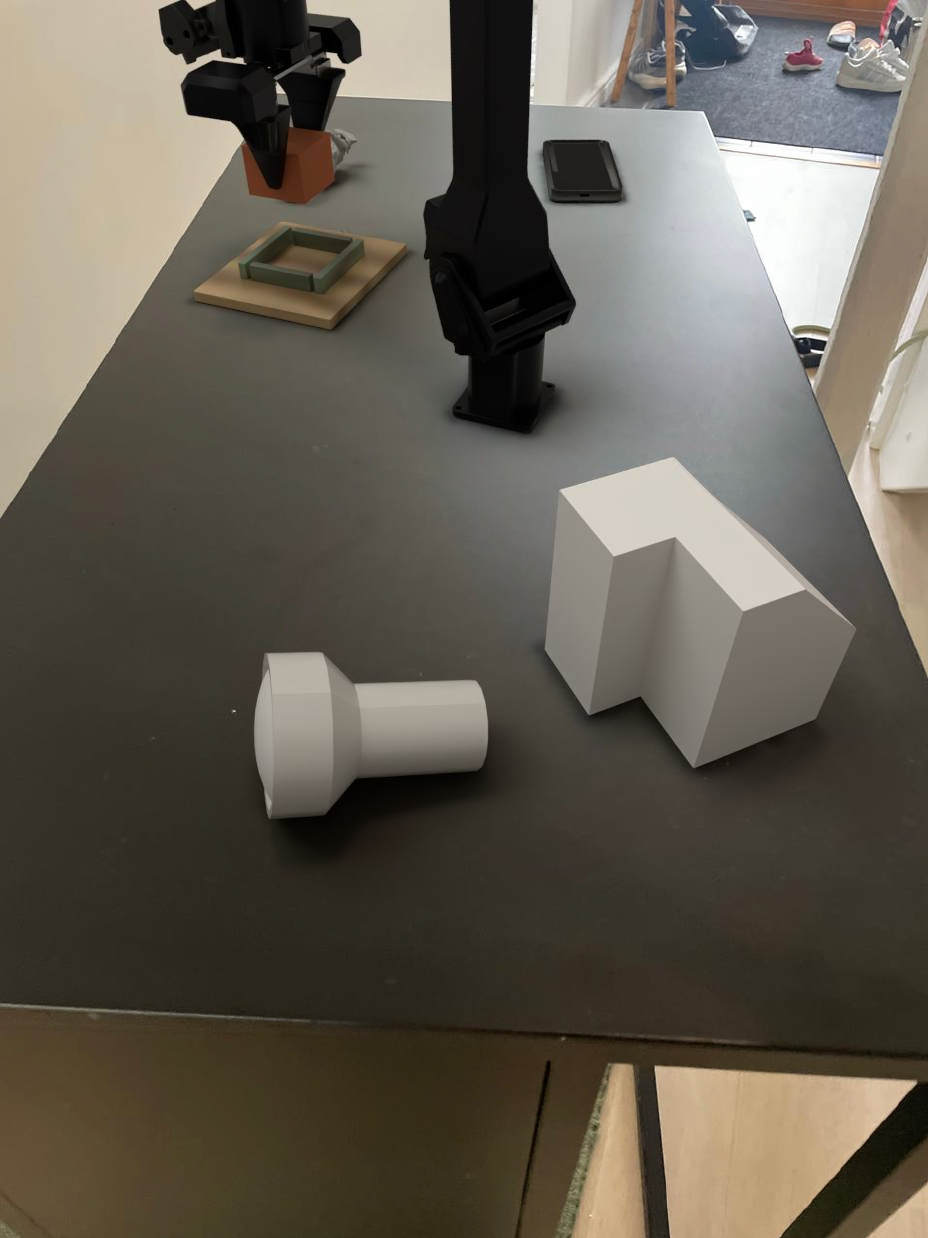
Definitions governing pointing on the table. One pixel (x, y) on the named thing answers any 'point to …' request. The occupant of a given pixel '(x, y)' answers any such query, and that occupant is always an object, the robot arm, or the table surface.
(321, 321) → the wooden board with frame
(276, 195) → the orange square block
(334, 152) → the soldier figure
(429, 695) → the spotlight
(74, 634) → the table surface
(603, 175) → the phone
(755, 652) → the corner bracket
